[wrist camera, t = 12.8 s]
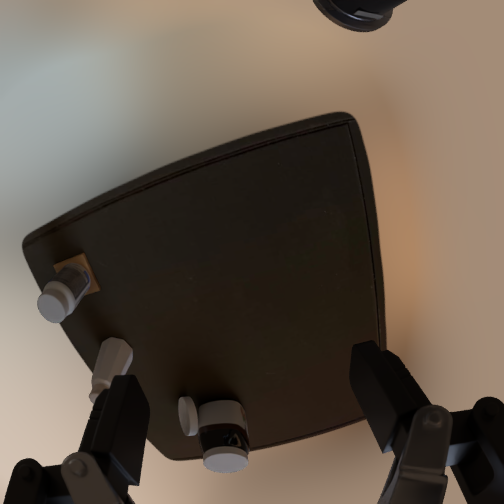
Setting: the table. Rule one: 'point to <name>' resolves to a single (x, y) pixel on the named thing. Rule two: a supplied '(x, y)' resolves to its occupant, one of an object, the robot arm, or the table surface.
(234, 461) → the spread jar
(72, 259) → the coaster
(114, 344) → the pepper shaker
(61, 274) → the pill bottle
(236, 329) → the table surface
